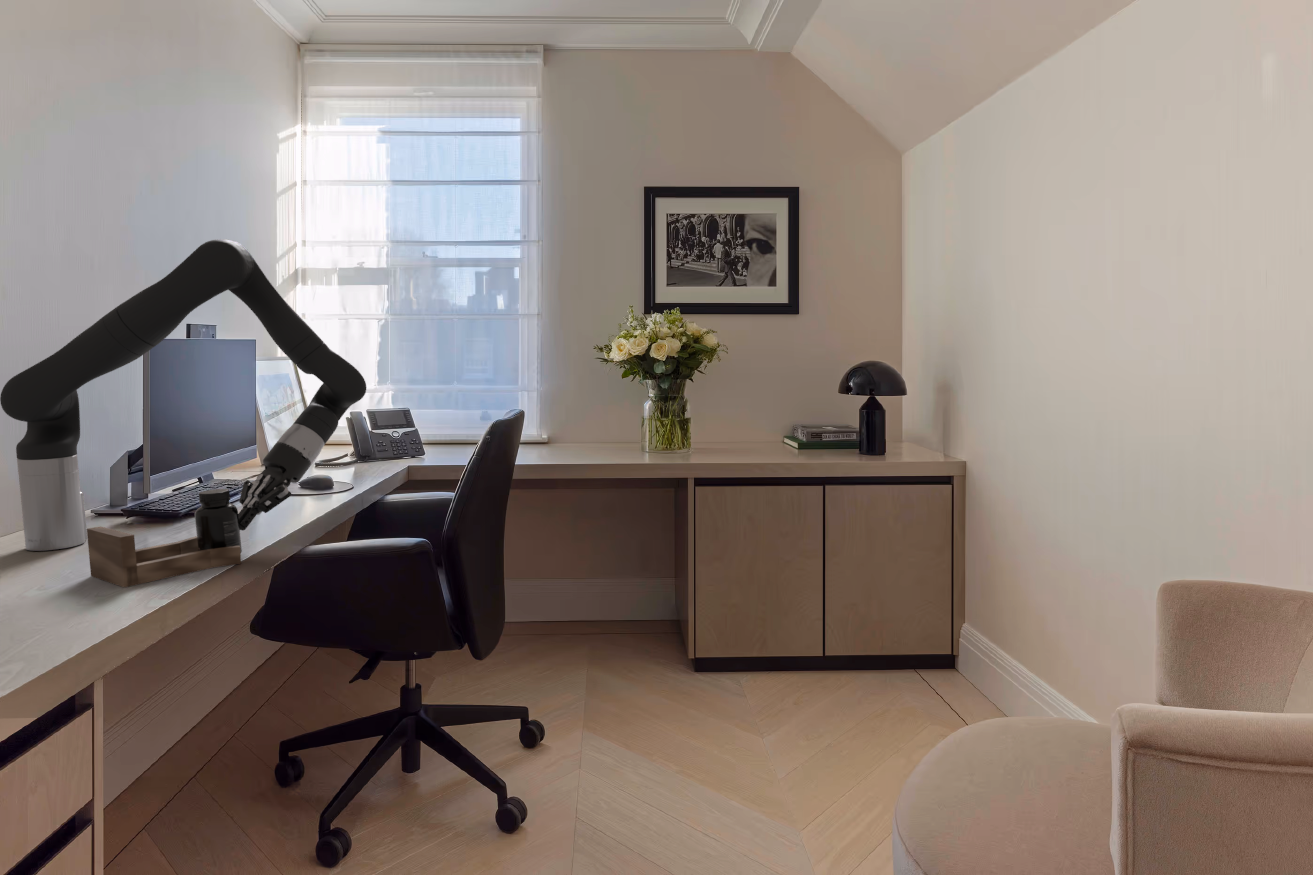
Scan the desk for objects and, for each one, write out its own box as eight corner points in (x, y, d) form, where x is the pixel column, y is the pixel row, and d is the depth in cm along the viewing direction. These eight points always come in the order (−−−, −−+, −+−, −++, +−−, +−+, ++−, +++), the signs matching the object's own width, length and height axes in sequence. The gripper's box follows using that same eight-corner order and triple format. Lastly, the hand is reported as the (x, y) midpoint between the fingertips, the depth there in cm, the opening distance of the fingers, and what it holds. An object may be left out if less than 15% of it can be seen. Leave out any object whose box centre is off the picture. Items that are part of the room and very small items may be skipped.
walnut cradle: (199, 551, 151) (196, 509, 150) (243, 562, 143) (240, 517, 142) (86, 574, 136) (82, 527, 135) (129, 588, 128) (124, 538, 127)
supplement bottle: (237, 549, 152) (232, 486, 150) (245, 557, 146) (240, 491, 145) (195, 556, 147) (189, 491, 146) (202, 564, 142) (196, 496, 141)
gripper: (261, 439, 159) (202, 512, 150) (301, 442, 152) (241, 520, 143) (288, 462, 164) (232, 534, 155) (328, 467, 157) (272, 543, 148)
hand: (237, 527), depth 149 cm, fingers closed
